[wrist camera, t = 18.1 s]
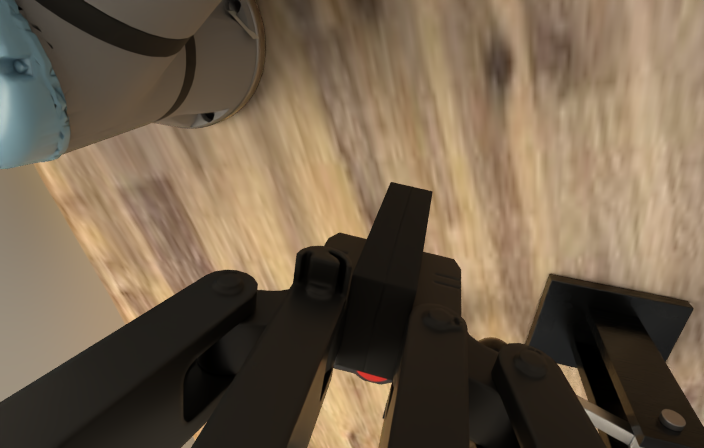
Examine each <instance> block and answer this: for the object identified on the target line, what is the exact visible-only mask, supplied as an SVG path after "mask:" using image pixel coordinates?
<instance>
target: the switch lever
mask: <svg viewBox="0 0 704 448" xmlns="http://www.w3.org/2000/svg"><path fill="white" fill-rule="evenodd" d="M478 342H480V343H481V344H483V345H485V346H487V347H489V348H491V349H493V350H495V351H497V352H499V351H500V350H501V348H502V347H503V346H505V345H507V343H505V342H504V341H502V340H500V339H498V338H492V337H489V338H484V339H481V340H480V341H478ZM576 396H577V395H576ZM577 397H578V399H579V401H580V403H581V404H582V406H583V408H584V409H585V411H586V413H587V414H588V416H589V418H590V420H591V421H592V423H593V425H594V426H595V427H596V428H598V429H600V430H601V431H603V432H605V433H607V434H609V435H610V436H612V437H614V438H616V439H618V440H619V441H621V442H623V443H625V444H627V445H628V448H642V447H639V445H638V443H637V440H636V438H635V435H634V433H633V430H632V428H631V426H630V423H628V422H626V421H624V420H623V419H621V418H619V417H617V416H615V415H613V414H611V413H609V412H608V411H606V410H604V409H602V408H600V407H598V406H596V405H594V404H592V403H591V402H589V401H587V400H585V399H583V398H581V397H579V396H577Z"/></svg>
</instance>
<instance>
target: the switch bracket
mask: <svg viewBox="0 0 704 448" xmlns="http://www.w3.org/2000/svg"><path fill="white" fill-rule="evenodd" d="M692 311H693V307H692V306H691V305H690V303H689V302H688V301H684V300H679V299H674V298H669V297H664V296H659V295H654V294H649V293H644V292H639V291H633V290H628V289H623V288H618V287H613V286H608V285H603V284H598V283H593V282H588V281H583V280H578V279H573V278H568V277H563V276H558V275H553V274H549V277H548V280H547V283H546V286H545V289H544V292H543V295H542V297H541V300H540V303H539V306H538V309H537V312H536V315H535V318H534V321H533V324H532V326H531V329H530V332H529V335H528V338H527V341H526V344H525V345H529V346H532V347H534V348H536V349H539V350H541V351H543V352H544V353H545V354H547V355H548V356H549V357H551V358H552V359H553V360H554V361H555V362H556V363H557V364H562V365H566V366H571V367H575V368H578V371H579V374H580V377H581V380H582V383H583V386H584V389H585V392H586V395H587V398H588V401H589V402H591V403H592V404H594V405H596V406H598V407H600V408H602V409H604V410H606V411H608V412H609V413H611V414H613V415H615V416H617V417H619V418H621V419H623V420H624V421H626V422H628V423H630V426H631V428H632V430H633V433H634V435H635V438H636V440H637V443H638V445H639V447H642V448H704V427H703V425H702V423H701V422H700V420H699V418H698V417H697V415H696V413H695V412H694V410H693V408H692V407H691V405H690V403H689V401H688V400H687V398H686V396H685V395H684V393H683V391H682V390H681V388H680V386H679V385H678V383H677V381H676V380H675V378H674V376H673V374H672V373H671V371H670V369H669V368H668V366H667V364H666V363H665V362H666V360H667V359H668V357H669V355H670V353H671V351H672V349H673V347H674V345H675V343H676V341H677V339H678V338H679V336H680V334H681V332H682V330H683V328H684V326H685V324H686V322H687V320H688V318H689V316H690V315H691V313H692ZM598 431H599V434H600V437H601V438H602V440H603V442H604V443H605V445H606V447H607V448H628V445H627V444H625V443H623V442H621V441H619V440H618V439H616V438H614V437H612V436H610V435H609V434H607V433H605V432H603V431H601V430H600V429H598Z"/></svg>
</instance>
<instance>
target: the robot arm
mask: <svg viewBox="0 0 704 448" xmlns="http://www.w3.org/2000/svg"><path fill="white" fill-rule="evenodd" d="M265 51H266V45H265V33H264V27H263V22H262V18H261V15H260V11H259V9H258V6H257V4H256V1H255V0H0V169H8V168H13V167H18V166H23V165H28V164H33V163H38V162H45V161H52V160H54V159H58V158H59V157H60V156H61V155H62V154H65V153H68V152H71V151H74V150H76V149H79V148H82V147H85V146H88V145H91V144H93V143H96V142H99V141H102V140H105V139H108V138H110V137H113V136H116V135H119V134H122V133H125V132H127V131H130V130H133V129H136V128H139V127H142V126H144V125H147V124H150V123H157V124H163V125H168V126H174V127H180V128H202V127H207V126H210V125H213V124H216V123H218V122H220V121H223V120H225V119H227V118H229V117H231V116H232V115H234V114H235V113H237V112H238V111H239V110H240V109H242V108H243V107H244V106H245V105H246V103H247V102H248V101H249V100H250V98H251V97H252V96H253V94H254V92H255V90H256V89H257V86H258V84H259V82H260V79H261V76H262V72H263V68H264V62H265ZM431 198H432V191H428V190H424V189H420V188H415V187H411V186H406V185H402V184H397V183H393V182H391V183H390V185H389V188H388V190H387V193H386V195H385V197H384V200H383V202H382V205H381V207H380V209H379V212H378V214H377V217H376V219H375V221H374V224H373V226H372V229H371V231H370V233H369V236H368V238H367V239H364V238H360V237H356V236H352V235H347V234H343V233H338V234H336V235H334V236H332V237H330V238H329V239H328V240H327V242H326V244H325V245H324V246H310V247H307V248H304V249H302V250H300V251H299V252H298V253H297V256H296V264H295V272H294V280H293V284H292V286H291V287H290V289H288V290H282V291H265V290H257V286H258V284H257V282H256V281H255V279H254V278H253V277H252V276H250V275H248V274H247V273H244V272H240V271H237V270H221V271H215V272H213V273H210V274H208V275H206V276H204V277H202V278H201V279H199V280H198V281H196V282H194V283H193V284H191V285H189V286H188V287H186V288H185V289H183V290H181V291H180V292H178V293H176V294H175V295H173V296H172V297H170V298H168V299H167V300H165V301H164V302H162V303H160V304H159V305H157V306H155V307H154V308H152V309H151V310H149V311H147V312H146V313H144V314H142V315H141V316H139V317H138V318H136V319H134V320H133V321H131V322H130V323H128V324H126V325H125V326H123V327H121V328H120V329H118V330H117V331H115V332H114V333H112V334H110V335H109V336H107V337H105V338H104V339H102V340H100V341H99V342H97V343H96V344H94V345H93V346H91V347H89V348H88V349H86V350H84V351H83V352H81V353H79V354H78V355H76V356H75V357H73V358H71V359H70V360H68V361H67V362H65V363H63V364H62V365H60V366H58V367H57V368H55V369H54V370H52V371H50V372H49V373H47V374H45V375H44V376H42V377H41V378H39V379H37V380H36V381H34V382H32V383H31V384H29V385H28V386H26V387H25V388H23V389H21V390H19V391H18V392H16V393H15V394H13V395H12V396H10V397H8V398H6V399H5V400H3V401H2V402H0V448H181V447H182V446H183V445H184V444H185V443H186V442H187V441H188V440H189V439H190V438H191V437H192V436H193V435H194V434H195V433H196V432H197V431H198V430H199V429H200V428H201V427H202V426H203V425H204V424H205V423H206V422H207V423H206V425H205V426H204V428H203V429H202V431H201V433H200V434H199V436H198V437H197V439H196V441H195V442H194V444H193V445H192V447H191V448H307V446H308V444H309V441H310V438H311V435H312V432H313V429H314V427H315V424H316V421H317V418H318V415H319V412H320V409H321V407H322V404H323V401H324V398H325V395H326V392H327V390H328V387H329V384H330V381H331V377H332V371H333V366H334V362H335V360H336V363H335V365H339V366H342V367H346V368H349V369H353V370H356V371H360V372H364V373H367V374H371V375H374V376H378V377H381V378H385V379H388V380H392V385H391V388H390V392H389V396H388V400H387V403H386V407H385V411H384V415H383V419H384V422H383V427H382V432H381V437H380V443H379V448H607V447H606V445H605V443H604V442H603V440H602V438H601V437H600V435H599V433H598V431H597V430H596V428H595V426H594V425H593V423H592V421H591V420H590V418H589V416H588V414H587V413H586V411H585V409H584V408H583V406H582V404H581V403H580V401H579V399H578V397H577V396H576V394H575V392H574V391H573V389H572V387H571V386H570V384H569V382H568V381H567V379H566V377H565V375H564V374H563V372H562V370H561V369H560V367H559V366H558V365H557V364H556V362H555V361H554V360H553V359H552V358H551V357H549V356H548V355H547V354H545V353H544V352H543V351H541V350H539V349H536V348H534V347H532V346H529V345H525V344H521V343H509V344H507V345H505V346H503V347H502V348H501V350H500V351H499V352H497V351H495V350H493V349H491V348H489V347H487V346H485V345H483V344H481V343H480V342H478V341H477V340H475V339H474V338H473V337H472V336H470V335H469V333H468V331H467V325H466V322H465V320H464V319H463V318H462V317H461V269H460V267H459V266H458V264H457V263H456V261H455V260H454V259H451V258H447V257H443V256H439V255H435V254H430V253H426V252H423V249H424V242H425V236H426V230H427V223H428V217H429V210H430V204H431ZM336 357H337V358H336Z"/></svg>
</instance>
